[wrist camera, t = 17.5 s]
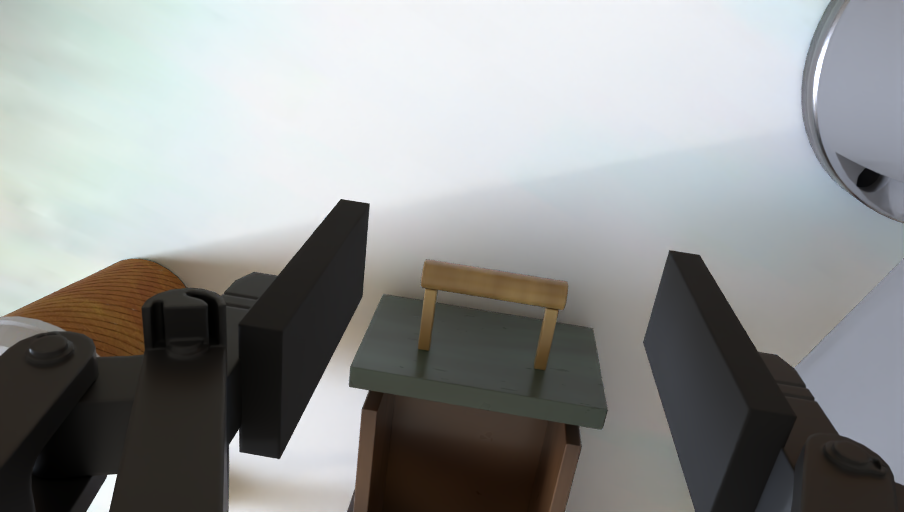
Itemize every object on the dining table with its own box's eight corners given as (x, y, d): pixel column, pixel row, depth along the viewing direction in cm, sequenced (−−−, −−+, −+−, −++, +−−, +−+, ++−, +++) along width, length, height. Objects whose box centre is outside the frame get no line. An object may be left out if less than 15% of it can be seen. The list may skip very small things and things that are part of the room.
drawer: (390, 216, 37) (356, 275, 29) (612, 251, 36) (632, 319, 29) (362, 515, 46) (331, 615, 39) (539, 546, 45) (541, 654, 38)
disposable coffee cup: (249, 312, 41) (148, 437, 30) (161, 391, 44) (40, 529, 33) (130, 203, 39) (-25, 293, 28) (47, 293, 42) (-122, 407, 31)
